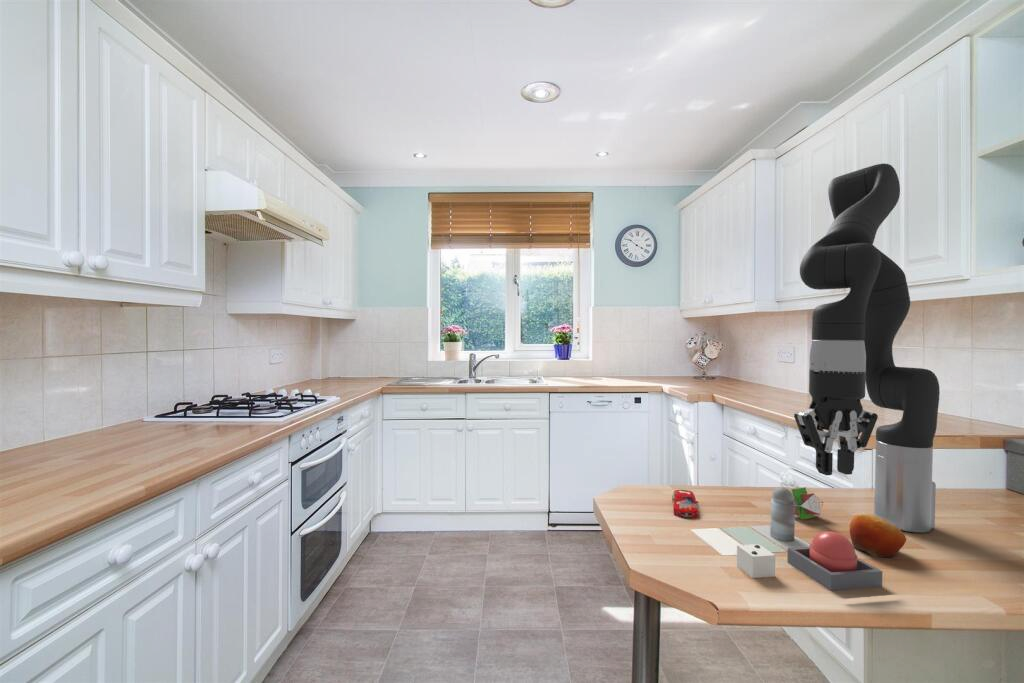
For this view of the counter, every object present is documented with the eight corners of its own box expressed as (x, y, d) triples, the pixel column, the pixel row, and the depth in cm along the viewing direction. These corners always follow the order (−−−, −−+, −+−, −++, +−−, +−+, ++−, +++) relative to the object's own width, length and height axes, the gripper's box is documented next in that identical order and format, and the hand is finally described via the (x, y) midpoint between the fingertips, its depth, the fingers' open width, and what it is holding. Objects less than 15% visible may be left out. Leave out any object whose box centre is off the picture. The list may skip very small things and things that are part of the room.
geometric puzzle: (770, 502, 104) (790, 480, 99) (792, 499, 106) (813, 477, 101) (793, 532, 98) (815, 510, 94) (816, 527, 101) (839, 506, 96)
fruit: (831, 541, 86) (847, 502, 87) (854, 557, 88) (869, 518, 90) (879, 561, 78) (895, 517, 80) (903, 577, 81) (918, 535, 82)
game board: (775, 526, 96) (775, 523, 96) (822, 553, 84) (822, 550, 84) (687, 531, 93) (687, 528, 93) (723, 560, 81) (723, 556, 81)
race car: (699, 524, 97) (699, 505, 97) (672, 520, 99) (672, 502, 99) (696, 502, 110) (696, 486, 110) (672, 499, 112) (672, 483, 111)
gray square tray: (833, 562, 81) (834, 545, 81) (882, 590, 72) (882, 571, 72) (787, 565, 79) (787, 548, 79) (830, 594, 71) (831, 575, 70)
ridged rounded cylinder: (783, 532, 92) (784, 484, 91) (799, 541, 88) (800, 490, 87) (765, 533, 91) (766, 484, 91) (780, 542, 87) (781, 491, 87)
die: (758, 567, 79) (758, 542, 79) (774, 579, 75) (775, 553, 75) (736, 568, 78) (737, 543, 78) (752, 581, 74) (752, 554, 74)
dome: (833, 558, 79) (834, 524, 79) (867, 578, 73) (868, 540, 73) (800, 561, 78) (800, 525, 78) (831, 581, 72) (832, 542, 72)
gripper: (854, 366, 80) (852, 466, 80) (781, 366, 78) (779, 468, 78) (896, 369, 73) (894, 479, 73) (816, 369, 70) (814, 482, 71)
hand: (834, 473), depth 75 cm, fingers open, 3 cm apart
